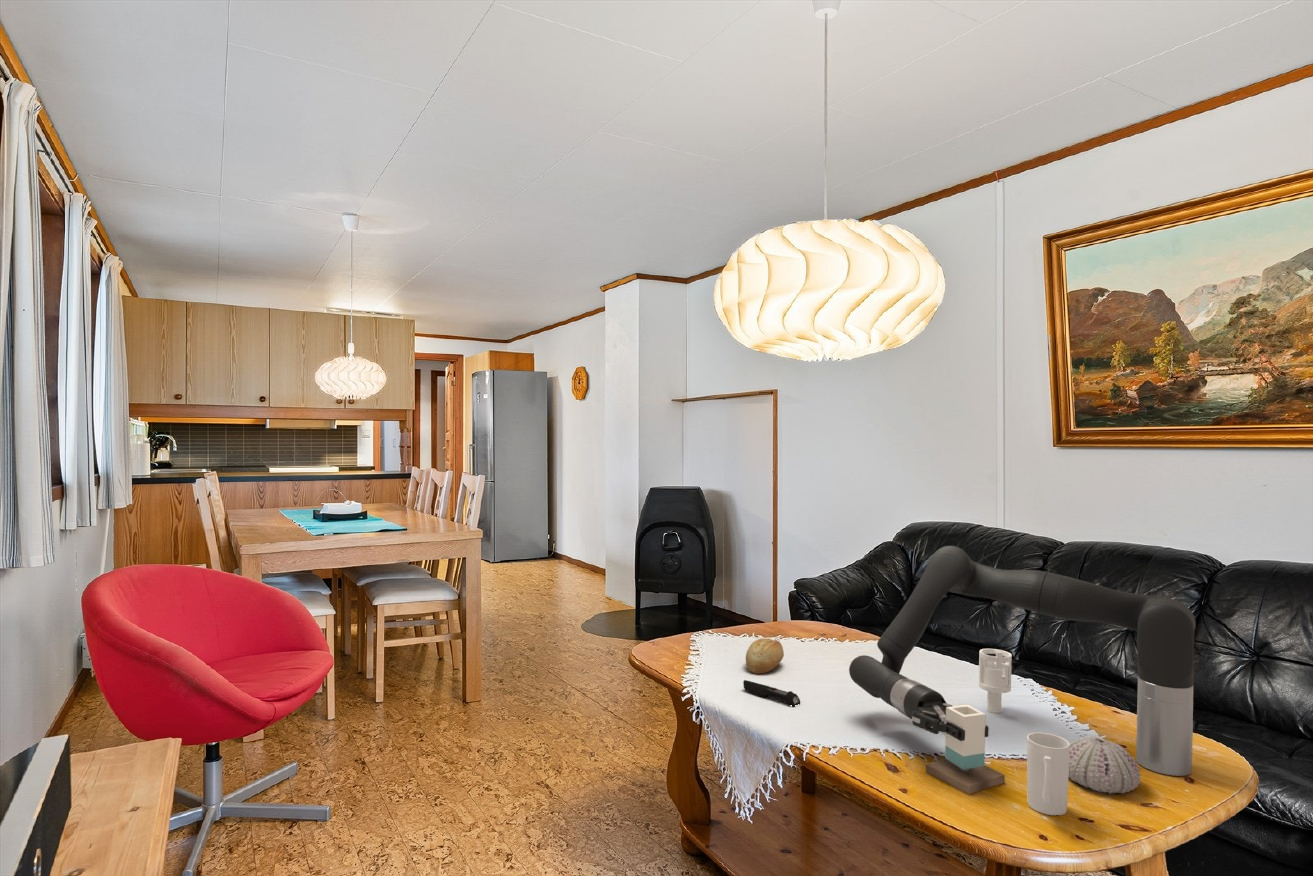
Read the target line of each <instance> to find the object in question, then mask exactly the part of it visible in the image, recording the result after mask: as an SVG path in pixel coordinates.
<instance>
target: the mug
mask: <svg viewBox="0 0 1313 876" xmlns="http://www.w3.org/2000/svg"><path fill="white" fill-rule="evenodd" d="M1070 744H1071V743H1070V742H1069V741H1068V740H1067V739H1065V738H1063V737H1061V736H1059V735H1056V734H1052V733H1048V732H1032V733H1028V734H1027V739H1026V784H1027V785H1026V795H1027V796H1026V797H1027V799H1026V800H1027V801H1026V802H1027V804H1028V807H1030V808H1031V809H1032V810H1034V811H1036V812H1038V813H1040V814H1043V815H1047V816H1054V815H1055V816H1056V815H1059V816H1063V815H1065V814H1066V813H1067V809H1068V799H1069V798H1068V795H1069V794H1068V793H1069V777H1068V776H1069V756H1070ZM1056 817H1057V816H1056Z"/></svg>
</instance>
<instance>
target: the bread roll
mask: <svg viewBox="0 0 1313 876" xmlns="http://www.w3.org/2000/svg"><path fill="white" fill-rule="evenodd" d="M784 653H785V652H784V648H783V645H782V643H781V642H780V641H779V640H777V639H774V640H773V639H771V638H758V639H756V640H754V641H753V642H751V644H750V645H749V647H748V649H747V650H746V654H745V663H746V666H747V669H748V670H749V672H751V673H753V674H755V675H759V674H761V675H762V674H765V673H768V672H771V670H773V669H775V668H776V667H777V666H778V665H779V664H780V663H781V662H782V660H783V659H784V656H785V654H784Z"/></svg>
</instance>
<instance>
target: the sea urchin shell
mask: <svg viewBox="0 0 1313 876" xmlns="http://www.w3.org/2000/svg"><path fill="white" fill-rule="evenodd" d="M1141 776H1142V774H1141V772H1140V768H1139V764H1138V762H1137V761H1136V759H1135V758H1134V757H1133V756H1132V755H1131V754H1130V753H1129V752H1128V750H1126V749H1125V748H1124V747H1122V746H1121V745H1120V744H1118V743H1116V742H1113V741H1110V740H1107V739H1105V738H1101V737H1098V736H1092V737H1091V736H1090V737H1082V738H1078V739H1077V740H1074V741H1073V742H1071V743H1070V756H1069V776H1068V778H1070V780H1071V781H1073V782H1074V783H1077V784H1078V785H1080V786H1083V787H1085V788H1090V789H1091V790H1093V791H1096V792H1098V793H1106V794H1112V795H1113V794H1116V793H1118V794H1126V793H1129V792H1132V791H1134V790H1135V789H1136V788H1138V785H1140V781H1141ZM1107 792H1108V793H1107Z"/></svg>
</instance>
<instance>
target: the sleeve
mask: <svg viewBox="0 0 1313 876" xmlns="http://www.w3.org/2000/svg"><path fill="white" fill-rule="evenodd" d="M986 715H987V714H986V713H985V712H982V711H980V710H979V709H976V708H975V707H973V706H971V705H969V704H960V705H952V707H946V719H947V720H949V723H950V722H951V723H953V724H955V725H957V726H959V727H960V728H962V729H964V730H965V740H964V741H960V740H958V739H956V738H954V737H953V736H951V735H949V734H944V736H945V741H944V743H945V744H944V745H945V746H944V759H947V760H949V761H950V762H952V763H954V764H955V765H957V766H958V767H960V768H961V769H969V768H975V767H981V766H984V765H985V764H986V763H985V762H986V759H985V758H986V755H985V754H986V737H985V725H986V717H987V716H986ZM985 766H986V765H985Z"/></svg>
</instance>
